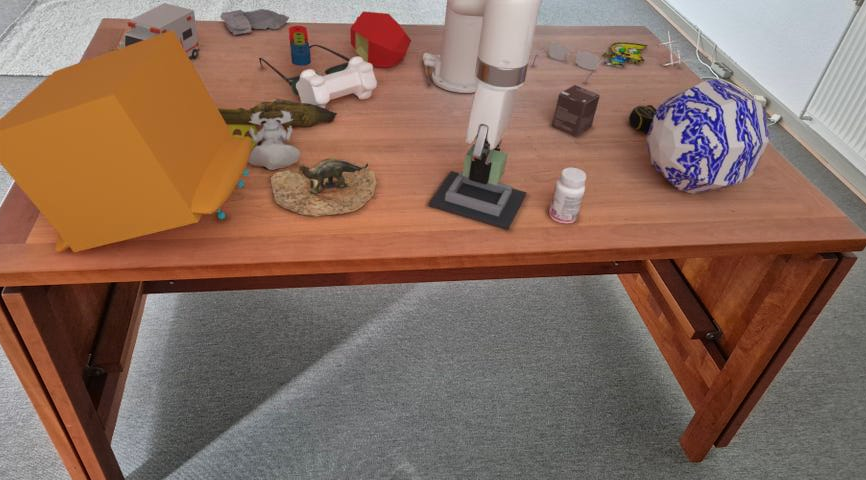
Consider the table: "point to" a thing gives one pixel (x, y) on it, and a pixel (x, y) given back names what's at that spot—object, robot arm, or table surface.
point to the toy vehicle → (165, 27)
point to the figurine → (272, 143)
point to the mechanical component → (299, 46)
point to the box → (575, 110)
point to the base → (478, 200)
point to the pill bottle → (568, 195)
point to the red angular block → (379, 39)
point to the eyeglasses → (581, 57)
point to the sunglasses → (334, 69)
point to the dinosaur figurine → (324, 188)
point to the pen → (427, 74)
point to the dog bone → (337, 83)
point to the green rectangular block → (496, 167)
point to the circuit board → (281, 100)
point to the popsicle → (242, 131)
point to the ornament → (708, 137)
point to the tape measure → (642, 117)
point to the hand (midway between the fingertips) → (482, 173)
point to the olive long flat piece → (299, 113)
